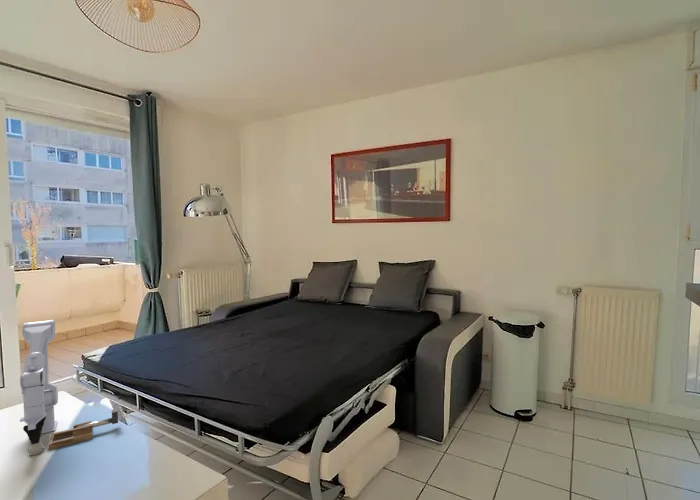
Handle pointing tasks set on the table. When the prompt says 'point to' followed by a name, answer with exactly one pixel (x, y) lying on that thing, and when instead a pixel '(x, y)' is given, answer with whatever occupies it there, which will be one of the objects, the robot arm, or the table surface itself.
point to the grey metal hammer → (104, 422)
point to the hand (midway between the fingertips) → (36, 440)
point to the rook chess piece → (36, 448)
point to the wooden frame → (77, 433)
